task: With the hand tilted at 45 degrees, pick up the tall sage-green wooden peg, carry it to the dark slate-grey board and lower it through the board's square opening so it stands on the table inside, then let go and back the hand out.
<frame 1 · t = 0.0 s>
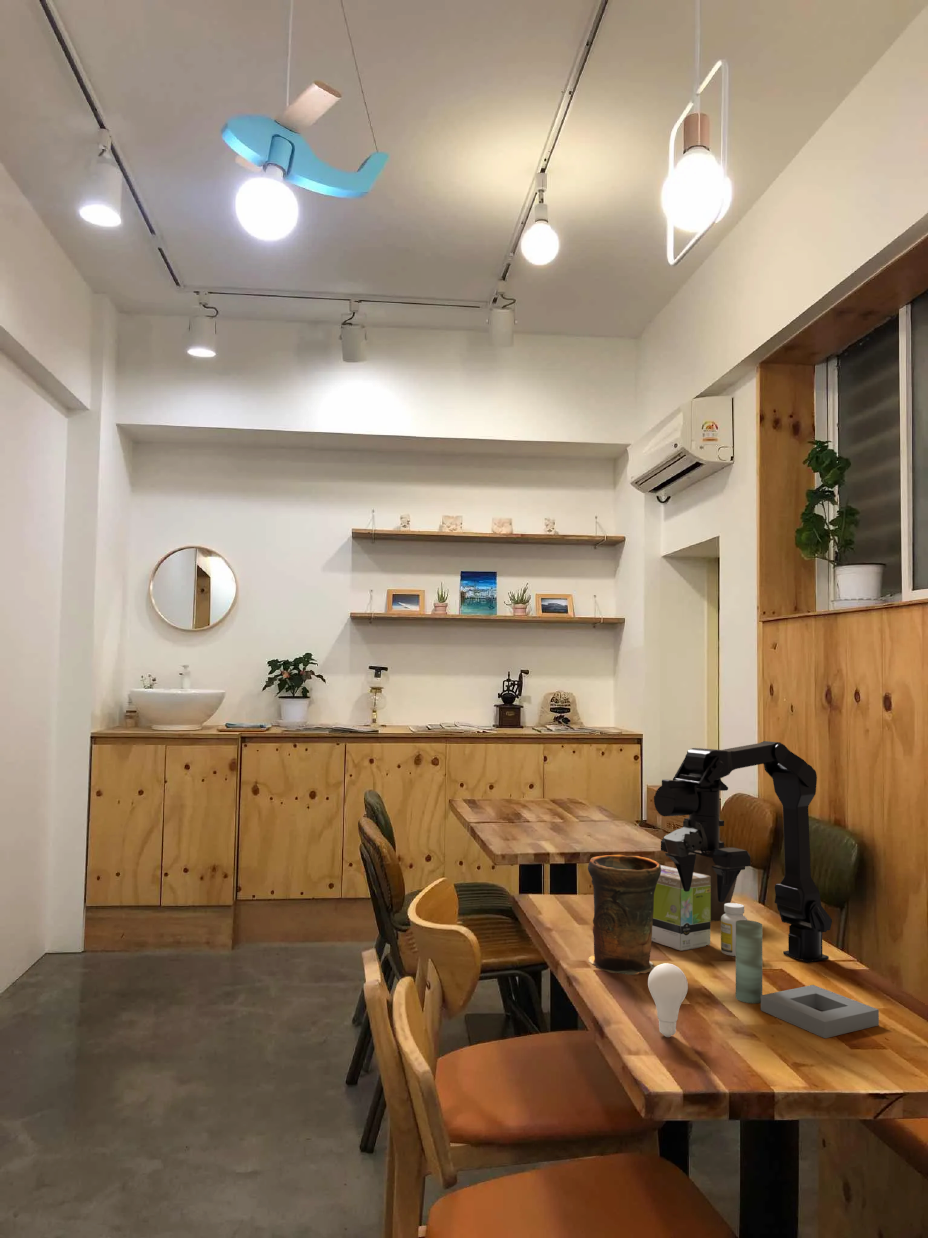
hand: (703, 896, 167), 15 cm above the table, tool pointing down, fingers open, 9 cm apart
vessel: (622, 964, 172), on the table
lightbulb: (667, 1038, 136), on the table
tea box: (669, 941, 189), on the table
supplement bottle: (734, 954, 180), on the table
peg: (748, 999, 154), on the table
plant pot: (708, 918, 209), on the table
holder board: (818, 1017, 145), on the table
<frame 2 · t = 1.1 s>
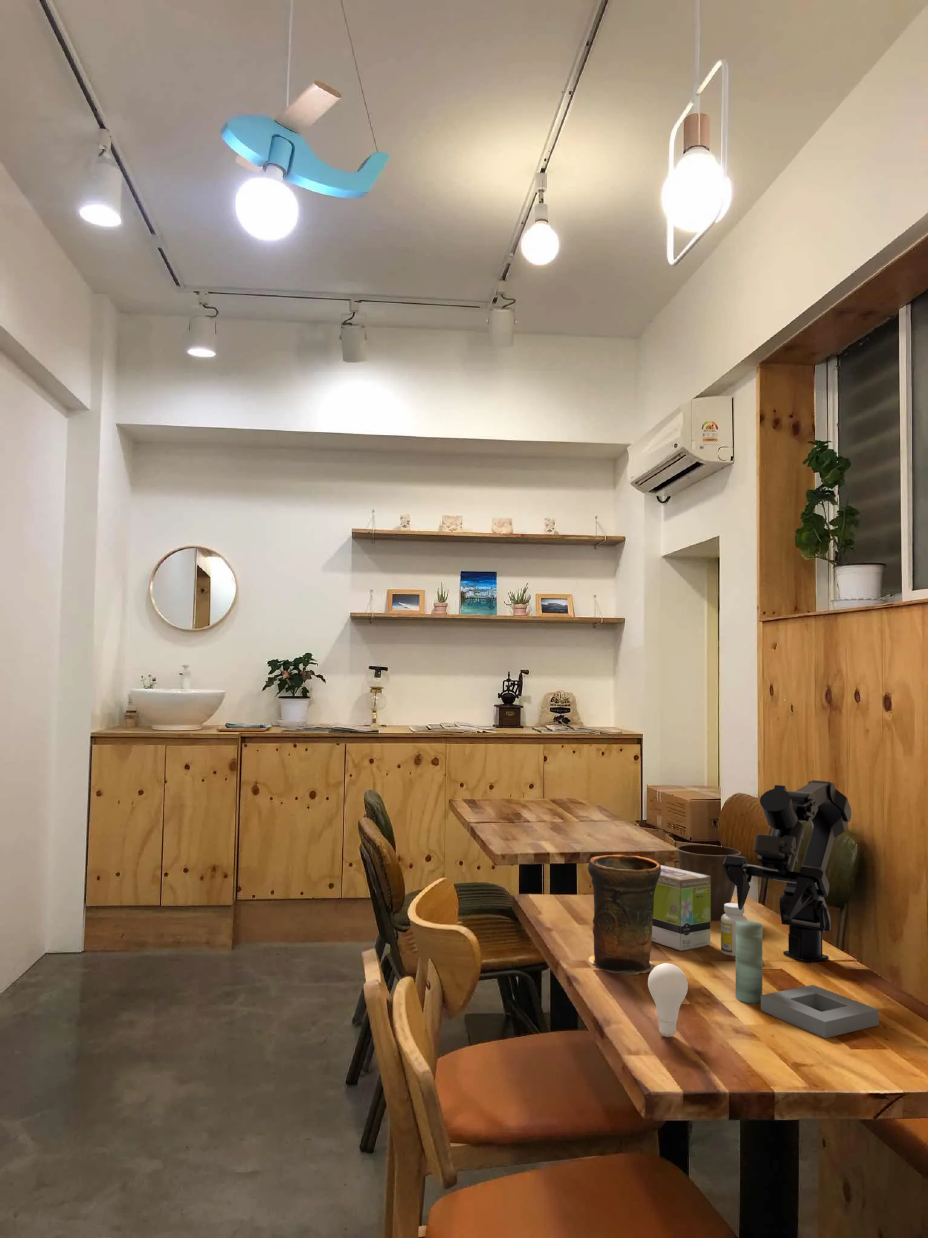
hand: (763, 913, 161), 13 cm above the table, tool tilted 45°, fingers open, 9 cm apart
nothing on the table moved.
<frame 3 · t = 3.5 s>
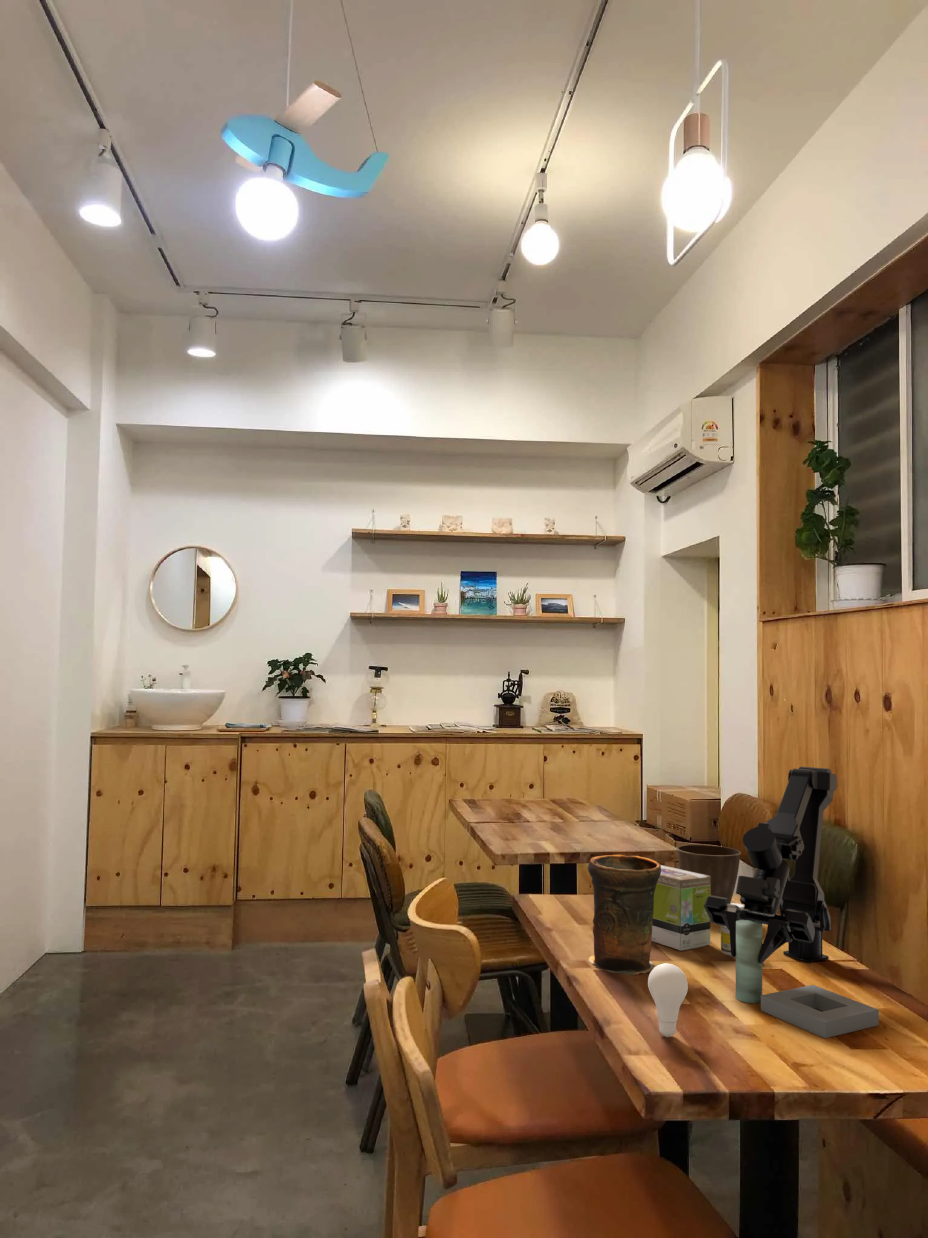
hand: (746, 959, 153), 7 cm above the table, tool tilted 45°, fingers closed on peg, 4 cm apart
peg: (748, 998, 154), on the table, touching gripper
everything else where it was.
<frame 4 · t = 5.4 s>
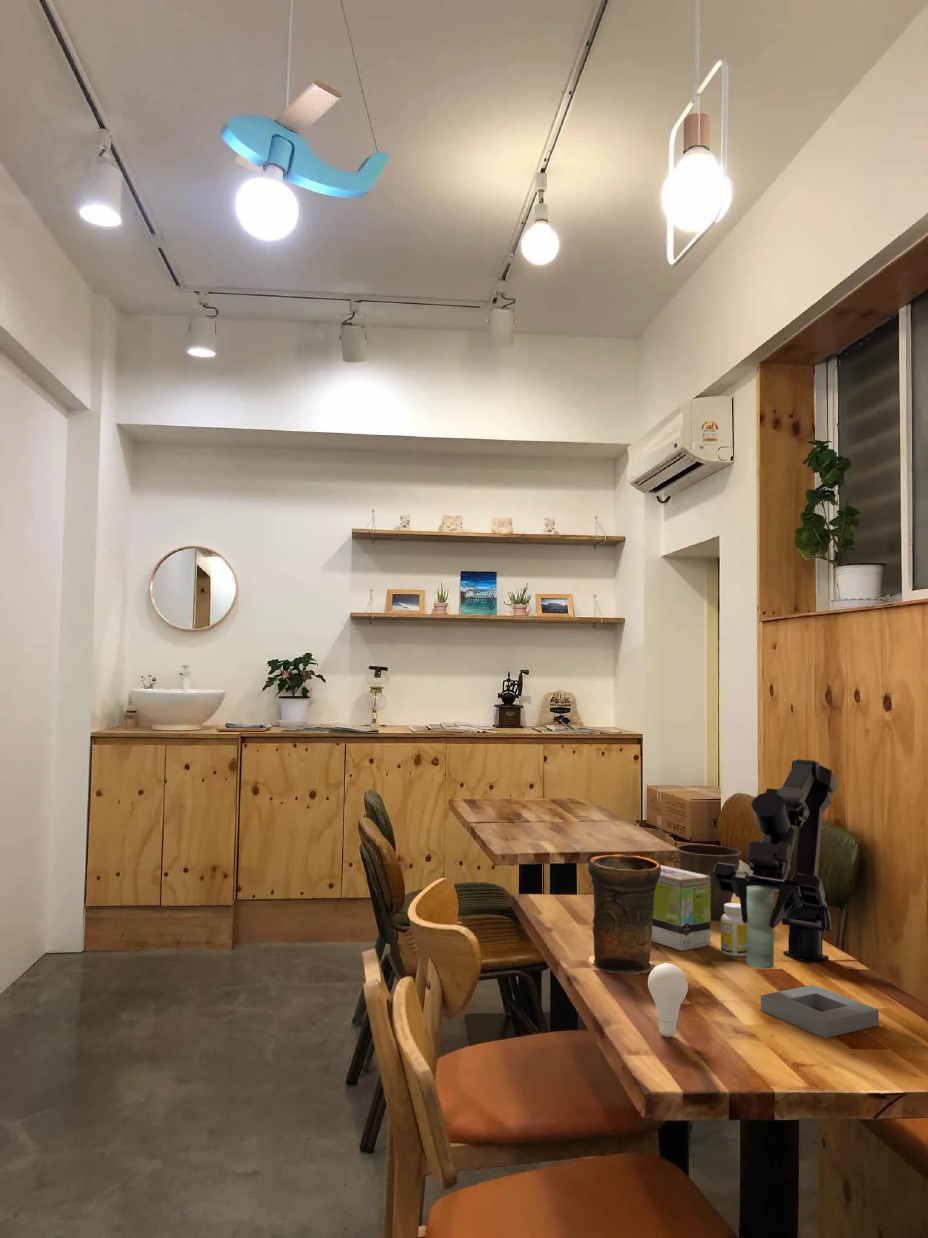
hand: (757, 924, 152), 14 cm above the table, tool tilted 45°, fingers closed on peg, 4 cm apart
peg: (759, 964, 152), point 6 cm above the table, touching gripper
everything else where it was.
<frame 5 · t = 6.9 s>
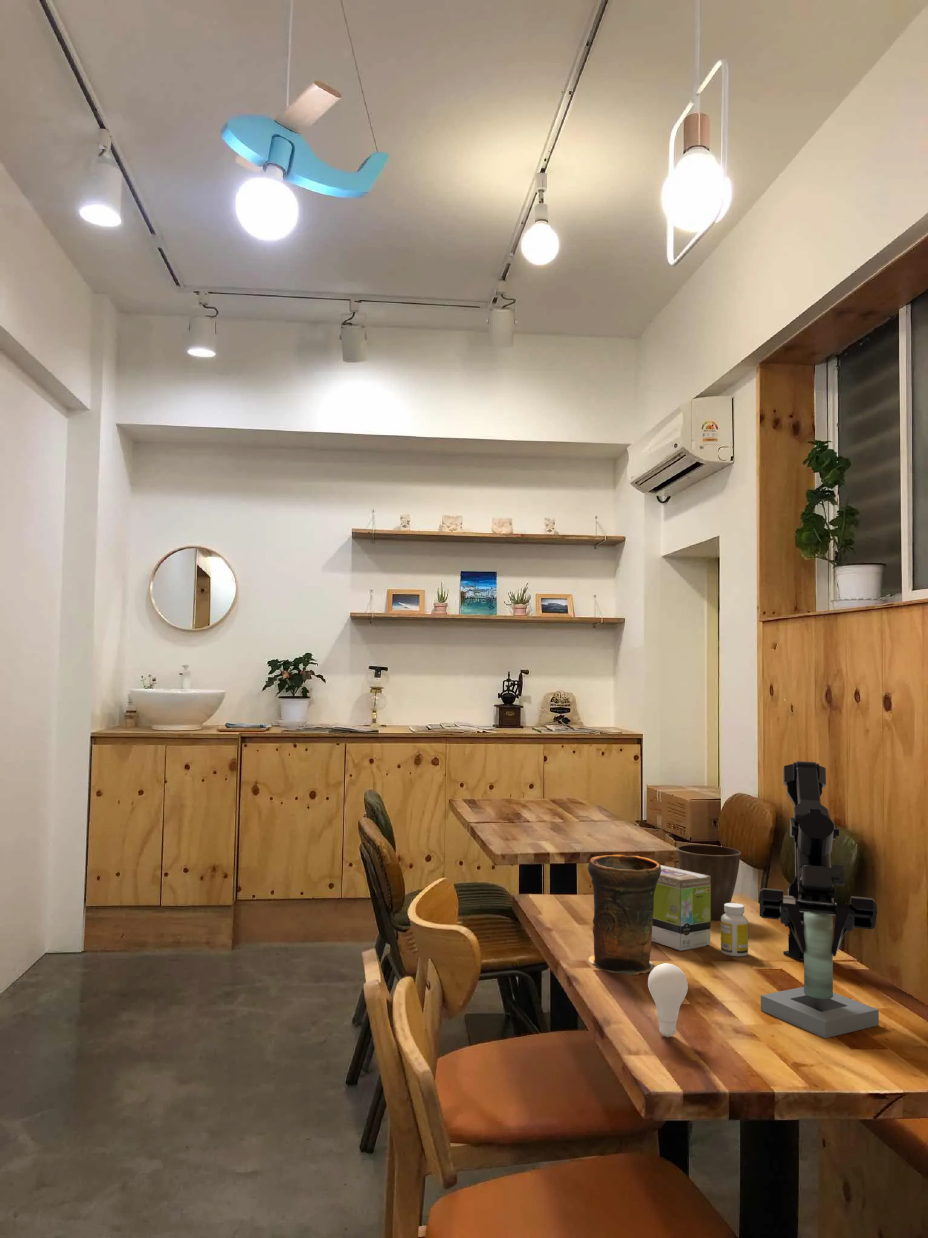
hand: (818, 953, 145), 11 cm above the table, tool tilted 45°, fingers closed on peg, 4 cm apart
peg: (818, 994, 146), point 4 cm above the table, touching gripper
everything else where it was.
when the fingers open (8 cm above the table, at t = 7.7 s): peg drops 1 cm, on the table.
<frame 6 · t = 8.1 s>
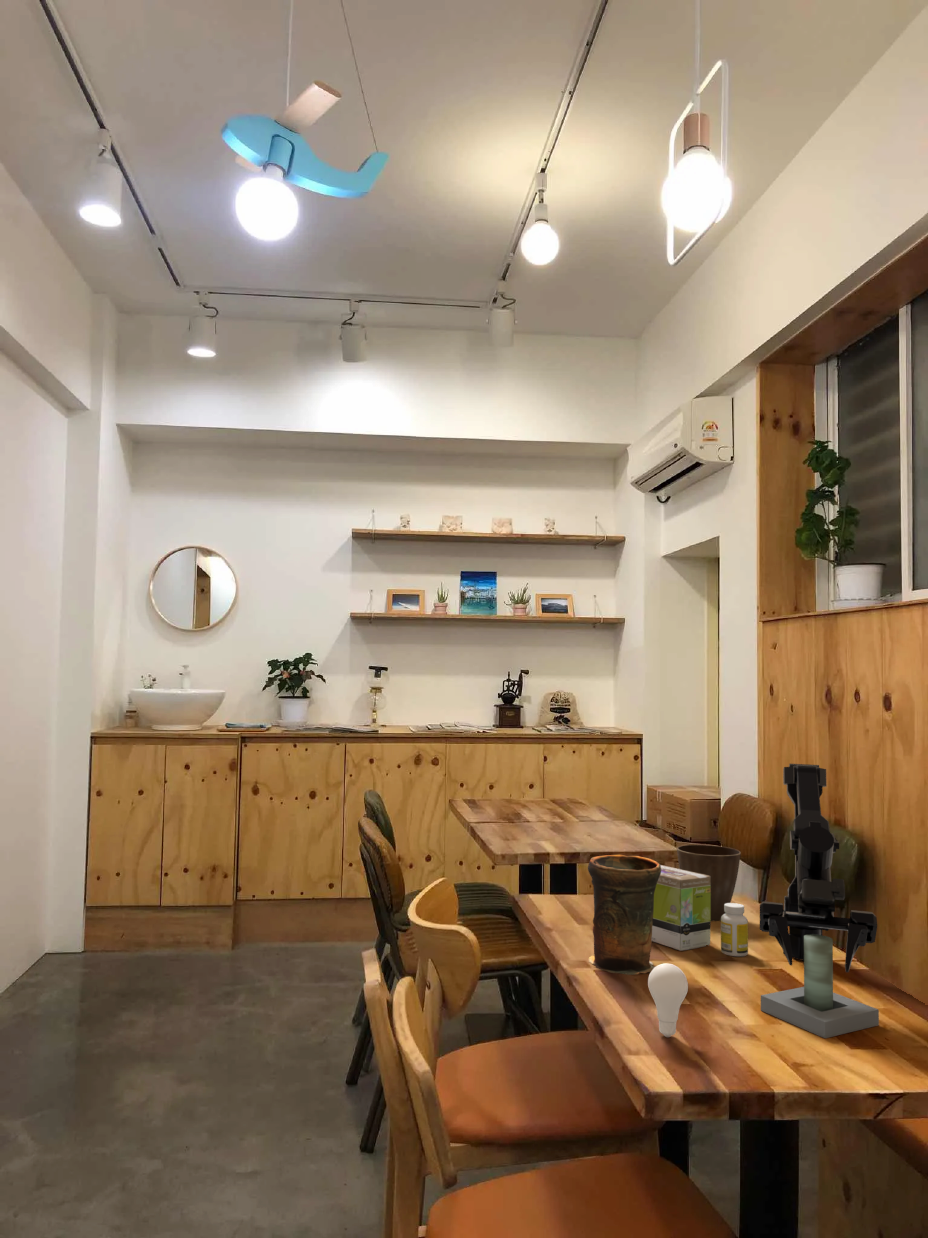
hand: (818, 967, 145), 9 cm above the table, tool tilted 45°, fingers open, 8 cm apart
peg: (818, 1017, 145), on the table
everything else where it was.
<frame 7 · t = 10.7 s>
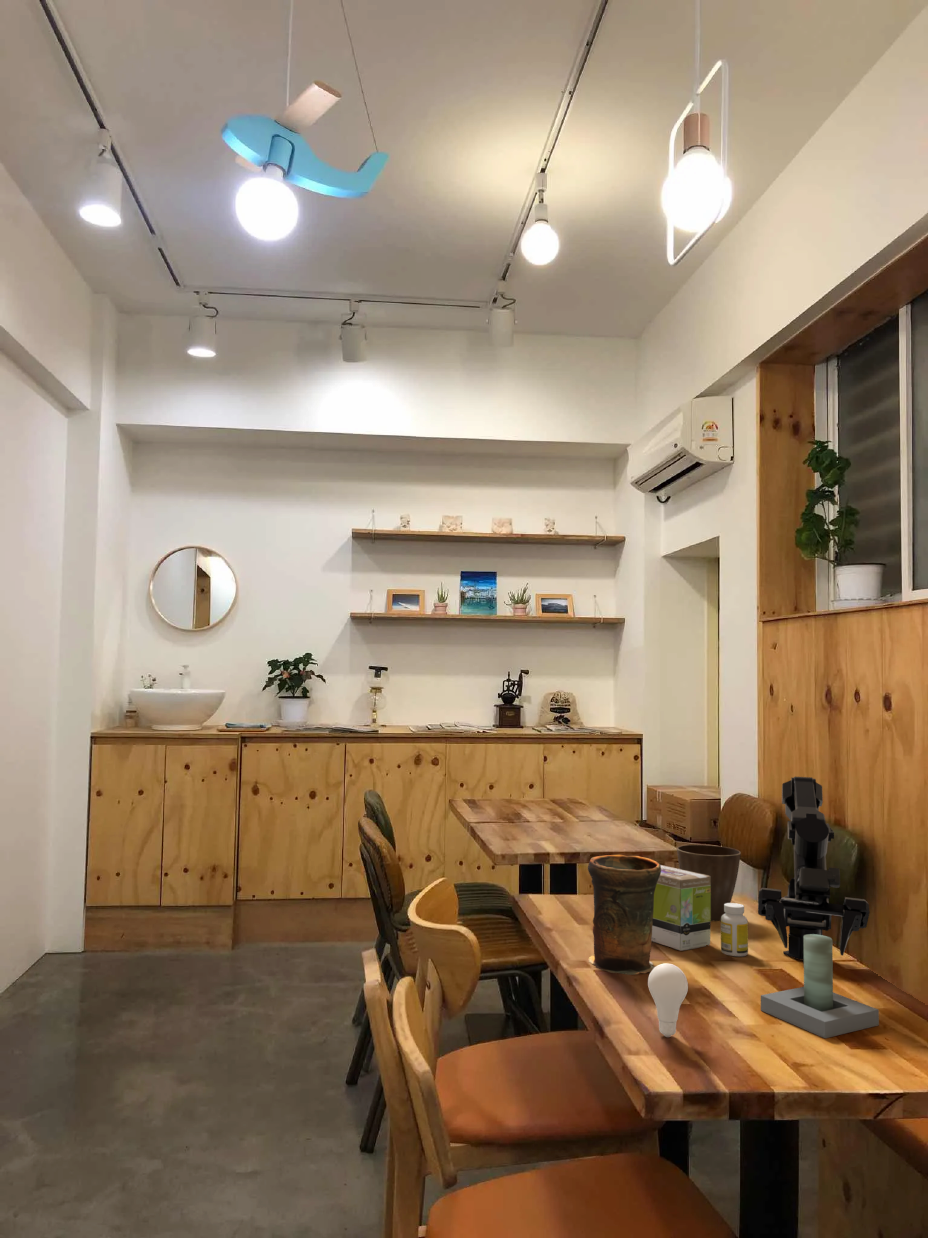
hand: (813, 950, 154), 9 cm above the table, tool tilted 45°, fingers open, 9 cm apart
nothing on the table moved.
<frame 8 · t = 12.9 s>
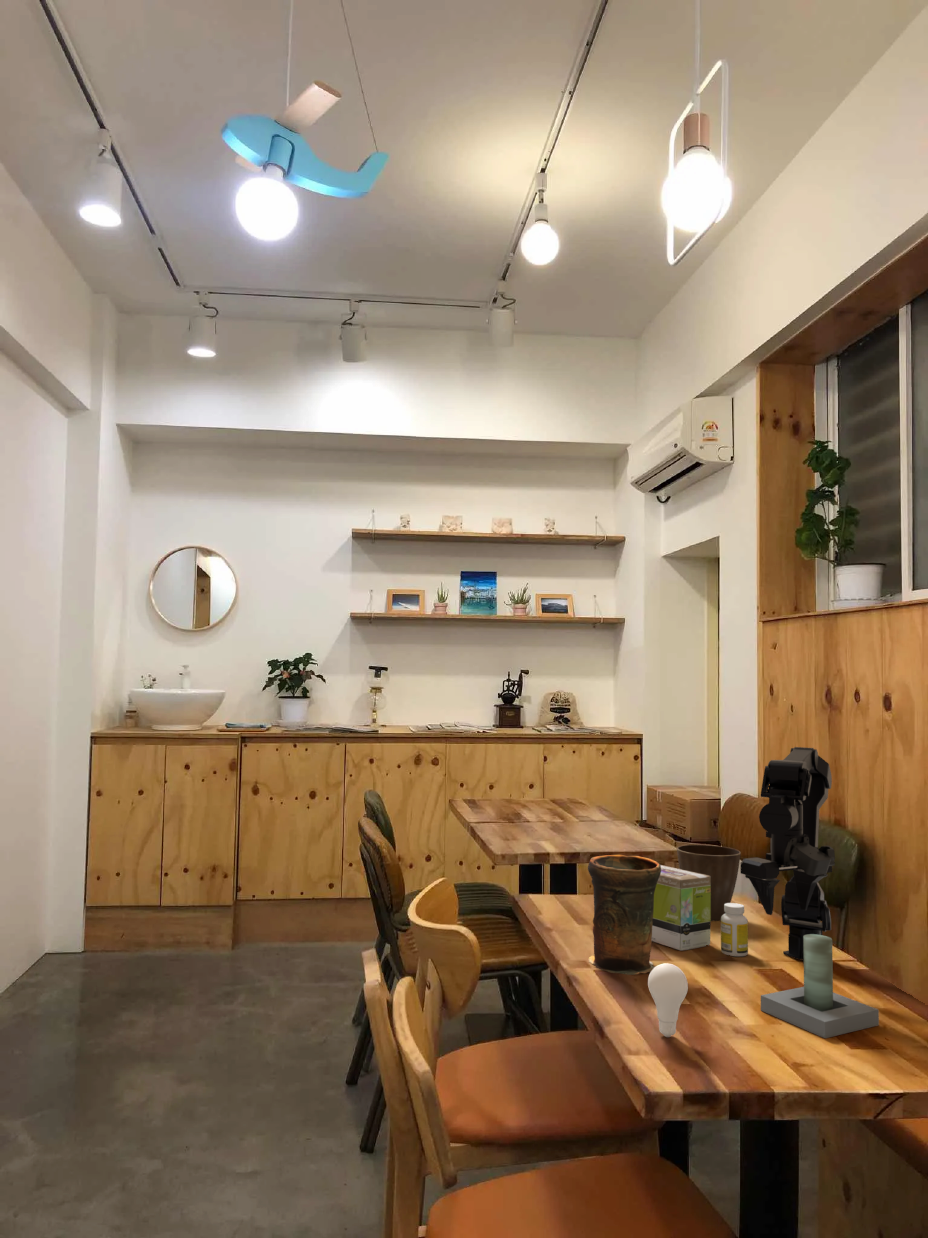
hand: (786, 912, 163), 13 cm above the table, tool pointing down, fingers open, 9 cm apart
nothing on the table moved.
at the end: peg 0.0 cm off-centre on the holder board, point 0.0 cm above the holder board's base; peg tilted 0°; the gripper is holding nothing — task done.
